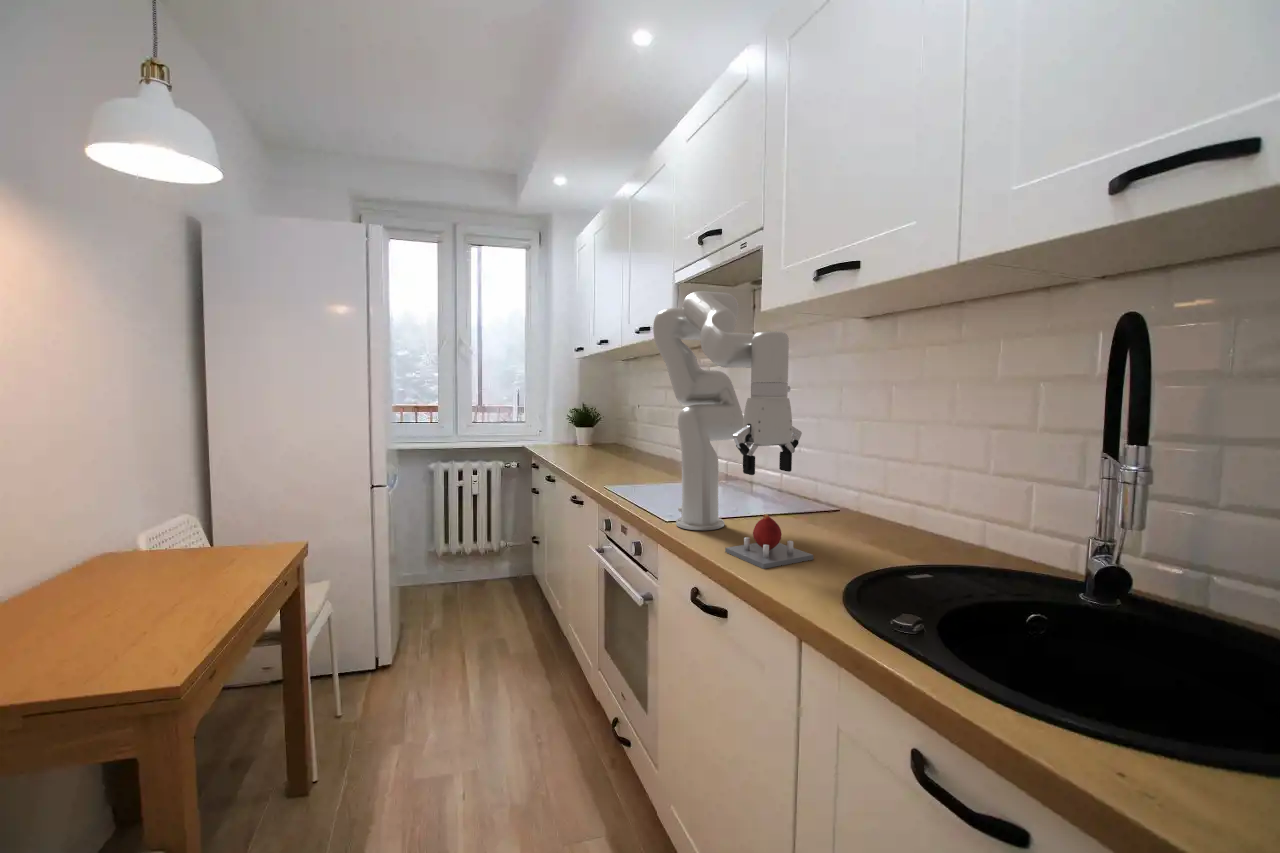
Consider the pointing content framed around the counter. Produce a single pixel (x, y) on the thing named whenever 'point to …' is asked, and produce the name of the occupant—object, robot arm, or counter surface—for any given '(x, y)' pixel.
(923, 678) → the counter surface
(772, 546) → the onion
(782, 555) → the pin tray
